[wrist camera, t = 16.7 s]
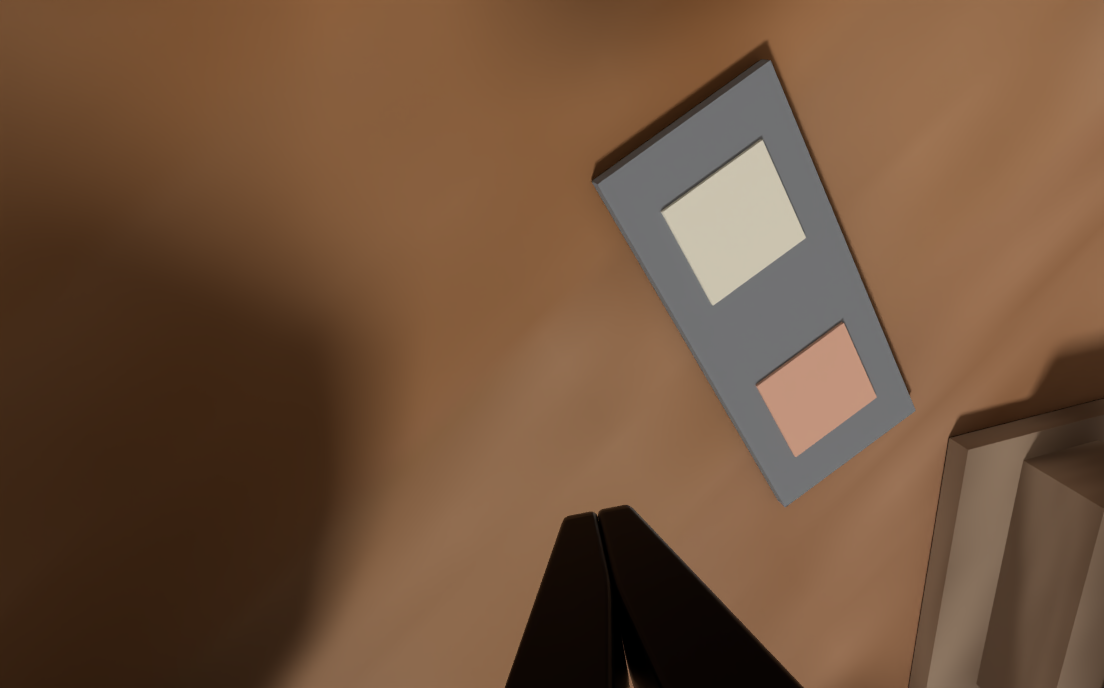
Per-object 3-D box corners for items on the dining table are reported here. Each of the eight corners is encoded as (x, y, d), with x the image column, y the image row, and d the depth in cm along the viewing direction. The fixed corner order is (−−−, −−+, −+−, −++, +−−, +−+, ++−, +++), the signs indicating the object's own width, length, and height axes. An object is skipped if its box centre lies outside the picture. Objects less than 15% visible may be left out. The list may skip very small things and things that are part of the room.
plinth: (905, 705, 30) (980, 788, 27) (949, 438, 25) (1047, 499, 22) (1067, 648, 32) (1155, 718, 29) (1136, 390, 27) (1251, 440, 24)
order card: (777, 500, 24) (787, 509, 24) (591, 181, 18) (598, 184, 18) (906, 404, 24) (918, 412, 24) (761, 59, 19) (772, 60, 18)
